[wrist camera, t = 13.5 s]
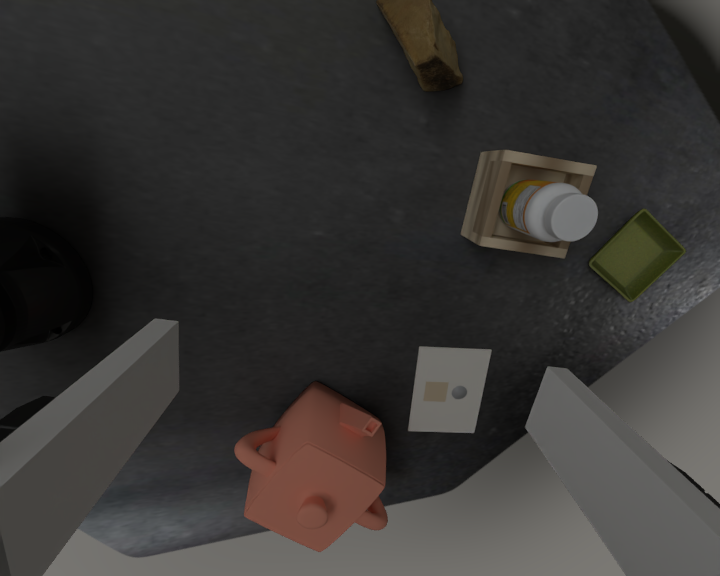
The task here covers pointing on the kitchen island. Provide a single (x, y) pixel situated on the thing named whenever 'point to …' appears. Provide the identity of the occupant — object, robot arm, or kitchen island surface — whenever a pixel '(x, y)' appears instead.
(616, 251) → the green tray
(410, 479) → the kitchen island surface
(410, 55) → the rock
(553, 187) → the supplement bottle
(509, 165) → the wooden crate
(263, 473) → the teapot
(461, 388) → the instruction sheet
